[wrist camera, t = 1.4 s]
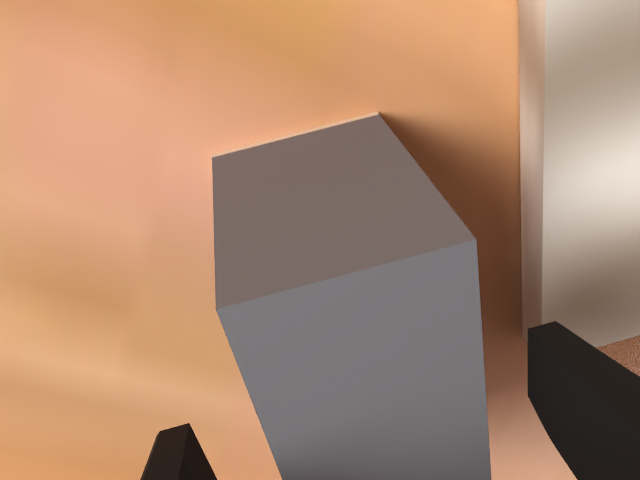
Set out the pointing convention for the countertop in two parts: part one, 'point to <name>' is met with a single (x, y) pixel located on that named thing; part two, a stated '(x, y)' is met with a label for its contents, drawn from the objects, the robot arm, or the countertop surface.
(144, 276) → the countertop surface
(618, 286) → the ash board
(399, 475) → the block
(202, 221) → the countertop surface
